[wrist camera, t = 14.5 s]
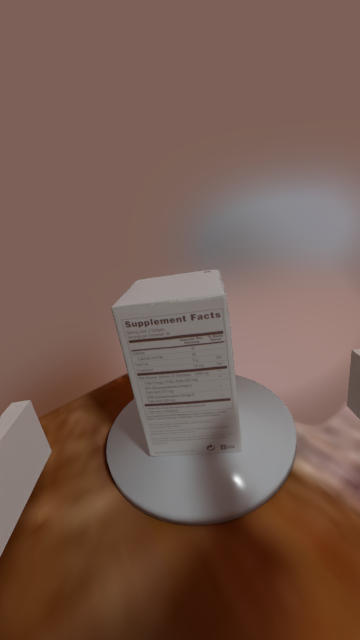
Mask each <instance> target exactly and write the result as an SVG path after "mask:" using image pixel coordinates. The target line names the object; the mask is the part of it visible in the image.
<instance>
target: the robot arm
mask: <svg viewBox="0 0 360 640" xmlns="http://www.w3.org/2000/svg"><path fill="white" fill-rule="evenodd" d="M347 406H348V407H349V408H350V409H351V410H352V411H353V412H354V414H355V415H356V416H357V417H358V418H359V419H360V349H355V350H352V354H351V366H350V378H349V389H348V401H347ZM50 453H51V449H50V446H49V444H48V441H47V439H46V437H45V434H44V432H43V429H42V427H41V425H40V422H39V420H38V418H37V415H36V413H35V410H34V408H33V406H32V403H31V401H30V400H28V401H21V402H14V403H11V405H10V406H9V407H8V408H7V409H6V410H5V412H4V413H3V414H2V415H1V417H0V556H1V554H2V552H3V550H4V548H5V546H6V544H7V542H8V540H9V538H10V536H11V534H12V532H13V530H14V528H15V526H16V523H17V521H18V519H19V517H20V515H21V513H22V511H23V509H24V507H25V505H26V503H27V501H28V499H29V497H30V495H31V493H32V491H33V488H34V486H35V484H36V482H37V480H38V478H39V476H40V474H41V472H42V470H43V468H44V466H45V464H46V462H47V460H48V458H49V456H50Z"/></svg>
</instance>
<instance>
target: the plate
mask: <svg viewBox="0 0 360 640" xmlns="http://www.w3.org/2000/svg"><path fill="white" fill-rule="evenodd" d="M235 380H236V390H237V400H238V410H239V419H240V427H241V438H242V452H236V453H221V454H202V455H181V456H157V457H156V456H150V454H149V451H148V447H147V443H146V439H145V436H144V432H143V428H142V425H141V421H140V417H139V413H138V410H137V406H136V402H135V398H134V399H133V400H132V401H131V402H130V403H129V404H128V405H127V406H126V407H125V408H124V409H123V410H122V411H121V413H120V414H119V415H118V417H117V418H116V420H115V422H114V423H113V425H112V428H111V430H110V433H109V436H108V440H107V449H106V453H107V462H108V465H109V468H110V471H111V474H112V478H113V480H114V482H115V484H116V486H117V488H118V490H119V491H120V493H121V494H122V495H123V496H124V498H125V499H126V500H127V501H128V502H129V503H130V504H132V505H133V506H134V507H135V508H136V509H138V510H140V511H141V512H143V513H144V514H146V515H148V516H150V517H153V518H155V519H158V520H160V521H164V522H168V523H172V524H176V525H186V526H205V525H213V524H219V523H224V522H227V521H230V520H233V519H237V518H240V517H242V516H244V515H246V514H248V513H250V512H252V511H254V510H256V509H257V508H259V507H260V506H262V505H263V504H264V503H266V502H267V501H268V500H269V499H270V498H272V497H273V496H274V495H275V494H276V493H277V492H278V491H279V489H280V488H281V487H282V485H283V484H284V483H285V481H286V480H287V478H288V476H289V474H290V472H291V470H292V467H293V464H294V461H295V455H296V429H295V425H294V421H293V418H292V416H291V414H290V411H289V410H288V408H287V407H286V405H285V404H284V403H283V401H282V400H281V399H280V398H279V397H278V396H276V394H274V393H273V392H272V391H271V390H269V389H268V388H266V387H265V386H263V385H261V384H259V383H257V382H255V381H253V380H250V379H247V378H244V377H241V376H237V375H235Z"/></svg>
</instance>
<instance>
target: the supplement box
mask: <svg viewBox="0 0 360 640" xmlns="http://www.w3.org/2000/svg"><path fill="white" fill-rule="evenodd" d="M111 310H112V313H113V317H114V321H115V324H116V328H117V332H118V336H119V340H120V344H121V347H122V351H123V355H124V359H125V363H126V367H127V371H128V375H129V379H130V383H131V387H132V390H133V394H134V398H135V402H136V406H137V410H138V413H139V417H140V421H141V425H142V428H143V432H144V436H145V439H146V443H147V447H148V451H149V454H150V456H156V457H157V456H181V455H202V454H221V453H236V452H242V438H241V427H240V419H239V410H238V400H237V390H236V380H235V370H234V359H233V349H232V338H231V327H230V319H229V312H228V303H227V295H226V291H225V288H224V285H223V280H222V278H221V274H220V270H205V271H198V272H191V273H184V274H178V275H171V276H163V277H156V278H149V279H142V280H137V281H136V282H135V283H134V284H133V285H132V286H131V287H130V288H129V289H128V291H127V292H126V293H125V294H124V295H123V296H122V297H121V298H120V299H119V300H118V301H117V302H116V303H115V304H114V305H113V306H112V307H111Z"/></svg>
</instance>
